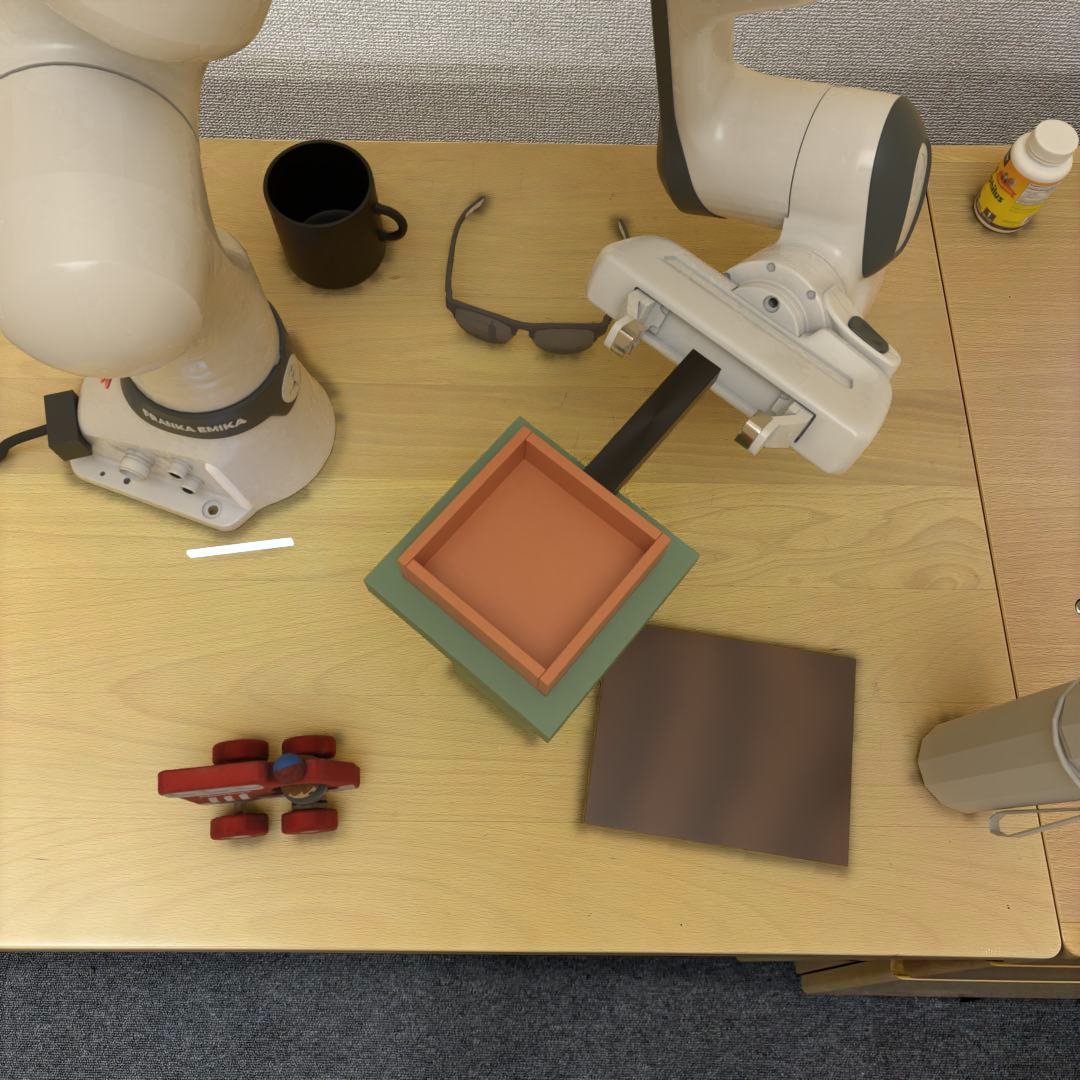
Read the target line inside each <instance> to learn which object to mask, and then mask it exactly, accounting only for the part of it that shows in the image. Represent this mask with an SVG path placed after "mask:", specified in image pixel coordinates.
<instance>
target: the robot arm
mask: <svg viewBox="0 0 1080 1080" xmlns="http://www.w3.org/2000/svg"><path fill="white" fill-rule="evenodd" d="M273 1H274V0H0V333H1V334H2V336H3V337H4V338H5V339H6V341H8V342H9V343H10V344H11V345H12V346H14V347H15V348H16V349H18V350H20V351H21V352H22V353H24V354H25V355H27V356H29V357H31V358H32V359H34V360H35V361H37V362H39V363H41V364H44V365H46V366H47V367H50V368H52V369H55V370H58V371H60V372H64V373H68V374H71V375H75V376H79V377H83V380H82V383H81V386H80V391H79V394H77V392H76V391H75V390H73V389H69V390H64V391H59V392H55V393H54V392H53V393H48V394H44V395H43V402H44V416H45V424H42V425H39V426H36V427H32V428H30V429H25V430H23V431H20V432H17V433H15V434H13V435H10V436H8V437H6V438H4V439H3V440H1V441H0V462H1V461H3V460H5V459H6V458H7V456H8V454H9V451H10V450H11V449H12V448H14V447H16V446H18V445H21V444H23V443H25V442H28V441H31V440H36V439H38V438H41V437H44V436H47V444H48V445H47V446H48V448H49V449H50V450H51V451H52V452H53V453H54V454H55V455H57V457H59V458H60V459H61V460H62V461H64V462H68V461H69V464H70V466H71V470H72V472H73V473H74V475H75V476H76V477H77V478H78V479H80V480H82V481H83V482H87V483H89V484H91V485H94V486H97V487H100V488H103V489H104V490H108V491H111V492H113V493H116V494H119V495H122V496H124V497H127V498H129V499H133V500H135V501H138V502H141V503H144V504H147V505H149V506H152V507H154V508H157V509H159V510H163V511H166V512H168V513H171V514H173V515H176V516H179V517H181V518H185V519H187V520H191V521H193V522H195V523H198V524H201V525H204V526H207V527H209V528H211V529H214V530H218V531H221V532H225V533H226V532H232V531H235V530H237V529H239V528H240V527H241V526H243V525H244V524H245V523H247V521H248V520H250V519H251V518H252V517H253V516H254V515H255V514H256V513H257V512H259V510H262V509H264V508H265V507H268V506H270V505H273V504H276V503H279V502H280V501H283V500H285V499H287V498H290V497H291V496H293V495H294V494H296V493H297V492H299V491H300V490H302V489H303V488H305V487H306V486H307V485H308V484H310V483H311V482H312V481H313V479H315V477H316V476H317V475H318V474H319V473H320V471H321V470H322V469H323V467H324V465H325V464H326V462H327V460H328V459H329V457H330V454H331V451H332V449H333V446H334V443H335V439H336V428H337V427H336V426H337V425H336V424H337V423H336V415H335V410H334V407H333V404H332V402H331V398H330V397H329V395H328V393H327V391H326V390H325V389H324V387H323V386H322V385H321V384H320V383H319V381H317V379H316V378H315V377H313V376H312V375H311V374H310V372H309V371H308V369H306V367H305V366H304V365H303V364H302V363H301V361H300V360H299V358H298V356H297V354H296V350H295V348H294V345H293V342H292V340H291V337H290V335H289V332H288V330H287V327H286V326H285V324H284V322H283V320H282V318H281V316H280V314H279V312H278V310H277V309H276V307H275V306H274V305H273V304H272V302H270V301H271V300H269V299H267V297H266V294H265V292H264V289H263V287H262V284H261V282H260V279H259V277H258V275H257V272H256V270H255V268H254V265H253V263H252V260H251V259H250V256H249V253H248V252H247V250H246V249H245V247H244V246H243V245H242V243H241V242H240V241H239V240H238V239H237V238H236V237H235V236H234V235H232V234H231V233H230V232H229V231H227V230H226V229H225V228H223V227H221V226H219V225H217V224H214V220H213V219H214V218H213V216H212V215H213V214H212V210H211V207H210V203H209V197H208V193H207V192H208V191H207V187H206V182H205V177H204V176H205V175H204V171H203V165H202V158H201V144H200V107H201V105H200V104H201V93H202V87H203V82H204V77H205V75H206V71H207V69H208V67H209V64H210V63H211V62H214V61H219V60H223V59H226V58H229V57H232V56H233V55H235V54H237V53H239V52H240V51H243V50H244V49H245V48H246V47H247V46H248V45H250V44H251V43H252V42H253V41H254V40H255V39H256V38H257V36H258V35H259V33H260V32H261V30H262V29H263V26H264V24H265V21H266V19H267V16H268V13H269V11H270V8H271V7H272V3H273ZM818 2H821V0H650V14H651V15H650V16H651V27H652V28H651V29H652V39H653V51H654V52H653V53H654V64H655V74H656V86H657V95H658V96H657V97H658V109H659V116H658V117H659V118H658V127H657V128H658V130H657V140H656V157H655V158H656V171H657V174H658V178H659V180H660V183H661V185H662V187H663V189H664V190H665V192H666V194H667V196H668V197H669V199H671V200H670V201H672V203H673V204H674V206H675V207H676V209H677V210H679V211H680V212H681V213H683V214H685V215H692V216H700V217H706V218H707V217H708V218H716V219H725V220H727V219H730V220H733V221H734V220H735V221H738V222H744V223H748V224H752V225H755V226H759V227H765V228H770V229H774V230H777V231H781V233H780V236H779V238H777V239H776V240H774V241H772V242H771V243H769V245H767V246H766V247H764V248H762V249H759V250H758V251H756V252H754V253H752V254H751V255H749V256H748V257H746V258H744V259H743V260H741V261H740V262H738V263H736V264H735V265H733V266H731V267H729V269H727V270H725V271H724V272H723V273H721V272H720V271H718V270H716V268H714V267H712V266H710V264H708V263H706V261H704V260H702V259H701V258H699V257H698V256H697V255H695V254H694V253H692V252H691V251H689V250H688V249H687V248H685V247H683V246H682V245H681V244H679V243H677V242H675V241H673V240H672V239H670V238H668V237H665V236H662V235H657V234H645V235H638V236H632V237H630V238H628V239H624V238H623V239H621V240H617V241H614V242H611V243H609V244H607V245H605V246H604V247H603V248H602V249H601V250H600V252H599V254H598V255H597V257H596V259H595V261H594V262H593V265H592V267H591V270H590V272H589V274H588V276H587V279H586V281H585V285H584V286H585V287H584V288H585V296H586V299H587V300H588V302H590V304H592V305H593V306H594V307H596V308H597V309H598V310H600V311H602V312H603V313H604V314H605V315H606V314H607V315H608V316H610V317H611V318H612V320H614V321H613V325H612V326H611V328H610V330H609V332H608V333H607V335H606V337H605V339H604V342H603V346H604V347H606V348H607V349H608V350H609V351H611V352H612V353H614V354H615V355H617V356H618V357H620V358H621V359H623V360H625V359H627V357H628V356H631V355H632V354H634V353H635V352H636V351H637V349H638V347H639V345H640V340H641V341H643V342H644V343H646V344H647V345H648V346H649V347H651V348H652V349H653V350H655V351H656V352H658V353H659V354H660V355H662V356H663V357H664V358H666V359H667V360H669V361H670V362H671V363H672V364H673V365H675V366H676V367H677V366H678V365H679V363H680V362H681V361H682V360H683V359H684V358H685V357H686V356H687V355H688V354H689V352H690V351H691V350H692V349H695V350H696V351H697V352H699V353H700V354H702V355H703V356H704V357H706V358H707V359H709V360H710V361H711V362H713V363H714V364H715V365H717V366H718V367H720V368H721V371H720V373H719V376H718V378H717V380H716V382H715V383H714V384H713V385H712V386H711V388H710V389H709V390H710V391H711V392H712V393H714V394H715V395H716V396H718V397H720V398H721V399H722V400H724V401H725V402H726V403H728V404H729V405H731V406H732V407H733V408H735V409H736V410H737V411H739V412H740V413H741V414H743V415H744V416H745V417H747V418H748V419H747V420H746V422H745V423H744V425H743V426H742V427H741V430H740V431H739V432H738V433H737V434H736V436H735V438H734V439H733V441H734V442H735V443H736V444H737V445H739V446H741V447H742V448H743V449H744V450H746V451H747V452H748V453H749V454H750V455H752V456H754V457H756V455H757V454H758V453H759V452H760V451H761V450H762V449H763V448H767V449H768V448H770V449H789V448H790V449H791V450H792V451H794V452H795V453H796V454H798V455H799V456H800V457H802V458H803V459H805V460H806V461H807V462H809V463H810V464H812V465H813V466H814V467H815V468H817V469H818V470H820V471H821V472H822V473H824V474H827V475H832V476H833V475H835V476H843V475H845V474H846V473H847V472H848V470H849V469H851V467H852V466H853V465H854V463H855V462H857V460H859V458H860V456H861V455H862V454H863V453H864V451H865V450H866V449H867V448H868V447H869V445H870V444H871V442H873V440H874V439H875V437H876V436H877V434H878V433H879V432H880V429H881V428H882V426H883V424H884V422H885V420H886V418H887V415H888V414H889V411H890V408H891V404H892V401H893V387H892V384H891V381H892V379H893V378H894V376H895V374H896V372H897V371H898V369H899V368H900V366H901V364H902V357H901V355H900V354H899V352H898V351H897V350H896V349H895V348H894V347H893V346H892V345H891V344H890V343H889V342H888V341H886V340H885V338H884V337H883V336H881V335H880V334H879V333H878V332H877V331H876V330H875V329H874V328H873V327H872V326H871V325H870V324H869V323H868V322H867V320H866V319H865V317H866V316H867V315H868V313H869V311H871V308H872V306H873V305H874V303H875V301H876V299H877V298H878V295H879V294H880V293H879V292H880V291H881V287H882V285H883V282H884V279H885V276H886V271H887V266H888V265H889V264H891V263H892V262H893V261H894V260H895V259H896V258H897V257H898V256H900V255H901V253H902V252H903V251H904V250H905V248H906V246H907V245H908V243H909V240H910V238H911V236H912V234H913V231H914V229H915V227H916V224H917V222H918V220H919V217H920V214H921V211H922V208H923V205H924V201H925V198H926V194H927V191H928V185H929V182H930V181H929V180H930V176H931V171H932V170H931V169H932V163H933V161H932V160H933V151H932V144H931V141H930V138H929V134H928V132H927V129H926V126H925V124H924V121H923V119H922V117H921V115H920V112H919V111H918V109H917V107H916V106H915V104H914V103H913V102H912V100H910V99H909V97H907V96H906V95H900V94H895V93H889V92H885V91H879V90H873V89H867V88H861V87H856V86H849V85H841V84H837V85H835V84H829V83H823V82H818V81H817V82H816V81H810V80H803V79H797V78H791V77H790V78H789V77H784V76H778V75H771V74H766V73H763V72H759V71H757V70H754V69H751V68H750V67H749V68H748V67H747V66H745V65H743V64H742V63H741V64H740V62H738V61H736V59H735V58H734V52H735V51H734V48H735V18H739V17H742V16H747V15H751V14H756V13H765V12H771V11H772V12H773V11H780V10H788V9H789V10H790V9H795V8H801V7H805V6H809V5H812V4H815V3H818ZM215 509H216V510H217V512H216V513H215V514H211V512H212V511H213V510H215ZM289 546H294V541H293V538H292V537H285V538H277V539H269V540H261V541H251V542H244V543H236V544H228V545H227V544H226V545H221V546H220V545H219V546H212V547H205V548H203V547H202V548H196V549H188V550H186V555H187V556H188V557H189V558H191V559H193V558H200V557H207V556H208V557H209V556H217V555H226V554H234V553H242V552H249V551H258V550H265V549H266V550H267V549H274V548H282V547H289Z"/></svg>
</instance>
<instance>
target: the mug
mask: <svg viewBox="0 0 1080 1080" xmlns="http://www.w3.org/2000/svg"><path fill="white" fill-rule="evenodd" d="M262 181H263V182H262V193H263V198H264V201H265V203H266V207H267V208H268V211H269V215H270V217H271V220H272V223H273V225H274V228H275V231H276V234H277V237H278V239H279V242H280V245H281V247H282V251H283V253H284V256H285V259H286V261H287V263H288V264H287V265H288V266H289V267H290V269H291V271H292V272H293V273H294V274H296V277H298V278H299V279H301V280H303V281H304V282H305V283H307V284H308V285H311V286H314V287H316V288H319V289H324V290H343V289H349V288H351V287H354V286H357V285H359V284H361V283H363V282H365V281H366V280H368V279H370V278H371V276H373V274H375V273H376V271H377V270H378V269H379V267H380V265H381V263H382V262H383V260H384V257H385V254H386V247H387V242H397V241H400V240H402V239H403V238H404V237H405V236H406V235H407V233H408V230H409V224H408V222H407V219H406V218H405V216H404V215H403V214H402V213H401V212H400V211H398V210H397V209H396V208H393V207H392V206H389V205H386V204H382V202H379V199H378V193H377V187H376V182H375V177H374V173H373V171H372V168H371V165H370V163H369V162H368V161H367V159H366V158H365V157H364V156H363V154H362V153H360V152H359V151H358V150H356V149H355V148H354V147H352V146H351V145H348V144H346V143H344V142H340V141H338V140H333V139H325V138H323V139H320V138H319V139H318V138H317V139H309V140H304V141H302V142H301V141H300V142H297V143H295V144H292V145H291V146H288V147H287V148H285V149H284V150H282V151H280V153H278V154H277V155H276V156H275V157H274V158H273V159H272V161H271V162H270V163H269V165H268V166H267V169H266V170H265V174H264V176H263V180H262ZM382 216H385V217H388V218H390V219H391V220H393V221H394V222H395V223H396V225H397V226H398V227H397V229H396V230H393V231H387V230H386V229H384V224H383V219H382Z"/></svg>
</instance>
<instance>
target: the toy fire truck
mask: <svg viewBox="0 0 1080 1080" xmlns="http://www.w3.org/2000/svg"><path fill="white" fill-rule="evenodd" d="M211 751H212V757H211V761H212V762H211V763H212V765H203V766H202V765H201V766H193V767H191V766H190V767H182V768H174V769H173V768H172V769H164V770H161V771H159V772H158V773H157V793H158V795H159V796H161V797H164V798H169V799H181V800H185V801H187V802H190V803H194V804H196V805H199V806H210V805H223V804H233V810H232V811H233V812H232V813H233V814H228V815H220V816H216V817H214V818H212V819H211V820H210V822H209V827H210V829H209V836H210V839H211V840H213V841H230V840H241V839H242V840H243V839H249V838H257V837H263V836H266V835H267V834H269V829H270V827H269V826H270V825H269V824H270V823H269V822H270V821H269V814H267V813H265V812H247V809H248V808H247V807H248V805H247V804H248V802H250V801H260V800H269V799H277V798H278V799H279V798H286V799H287V800H288V801H289V802H291V809H292V810H291V811H288V812H287V811H286V812H283V813H282V814H281V819H280V821H281V823H280V824H281V826H280V827H281V828H280V829H281V833H282V834H283V835H287V836H288V835H289V836H290V835H292V836H293V835H294V836H295V835H311V834H319V833H328V832H333V831H336V830H337V829H338V827H339V812H338V810H337V809H336V808H332V807H329V808H328V806H327V805H328V803H329V802H328V799H327V795H326V793H334V792H342V791H351V790H357V789H358V788H359V787H360V785H361V768H360V766H358V765H357V764H356V763H354V761H353V762H352V761H344V760H337V759H333V758H335V757H336V755H337V740H336V738H335V737H334V736H332V735H326V734H305V735H304V734H303V735H295V736H291V737H288V738H285V739H284V740H283V741H282V742H281V755H280V756H278V757H277V758H276V759H275V761H269V759H270V744H269V742H268V741H266V740H264V739H258V738H239V739H232V740H231V739H230V740H224V741H220V742H217V743H215V744H214V745H213V746H212V750H211Z"/></svg>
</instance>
